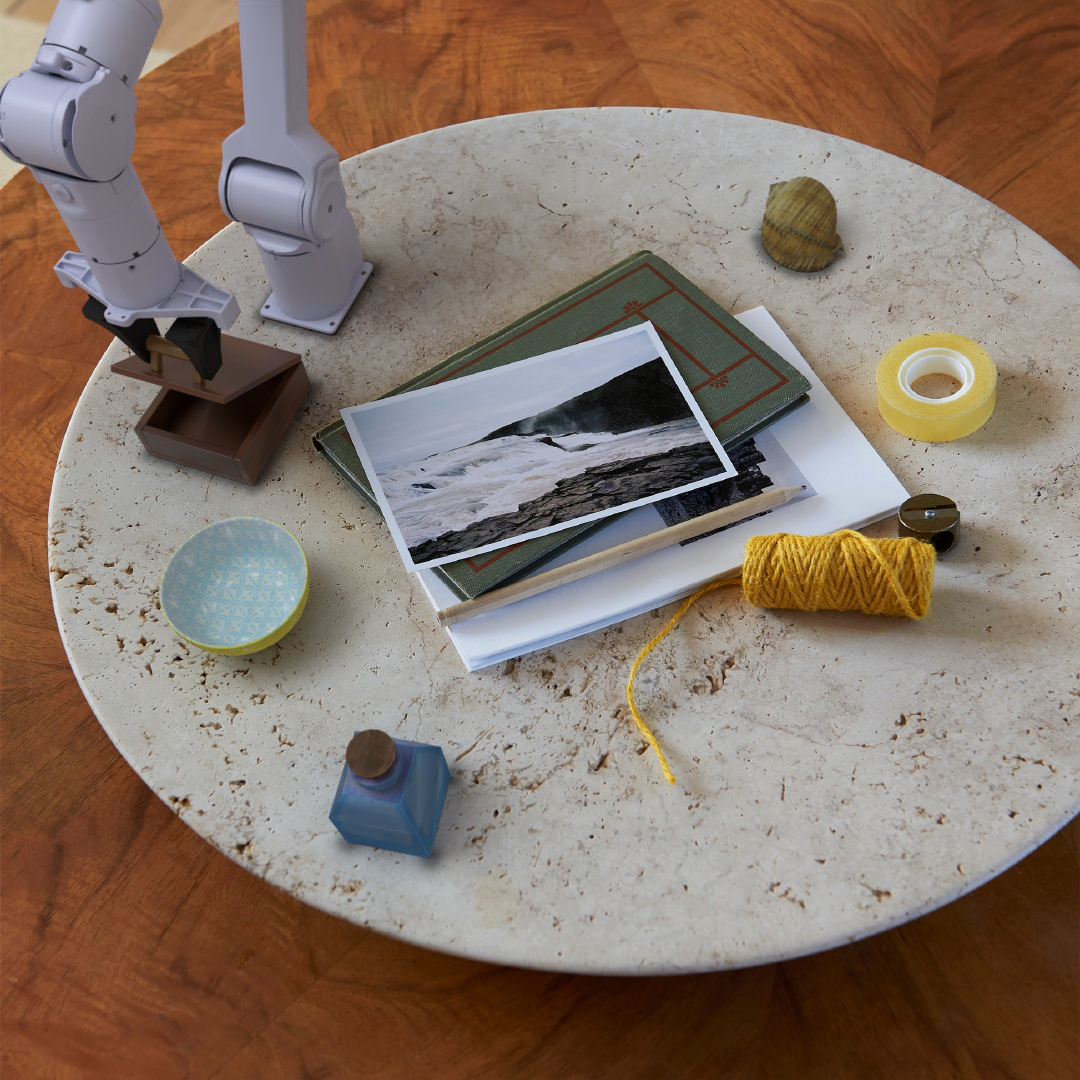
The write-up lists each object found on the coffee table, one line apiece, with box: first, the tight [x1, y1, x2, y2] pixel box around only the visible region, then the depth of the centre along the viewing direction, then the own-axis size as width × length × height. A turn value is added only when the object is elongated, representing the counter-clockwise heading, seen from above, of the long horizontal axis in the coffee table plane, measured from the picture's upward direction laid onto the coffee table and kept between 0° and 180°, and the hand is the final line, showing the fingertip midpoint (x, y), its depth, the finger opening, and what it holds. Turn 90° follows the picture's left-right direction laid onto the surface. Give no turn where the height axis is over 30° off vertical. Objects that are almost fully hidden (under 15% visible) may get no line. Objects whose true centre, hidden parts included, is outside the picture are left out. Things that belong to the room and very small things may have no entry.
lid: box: [110, 332, 303, 404], centre depth 88 cm, size 12×11×4 cm
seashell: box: [760, 176, 845, 273], centre depth 102 cm, size 10×7×8 cm
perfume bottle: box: [327, 728, 452, 860], centre depth 71 cm, size 6×6×12 cm
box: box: [133, 359, 313, 487], centre depth 93 cm, size 12×11×4 cm
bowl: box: [158, 515, 311, 656], centre depth 82 cm, size 11×12×6 cm
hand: (183, 362), depth 85 cm, fingers closed on lid, 5 cm apart
